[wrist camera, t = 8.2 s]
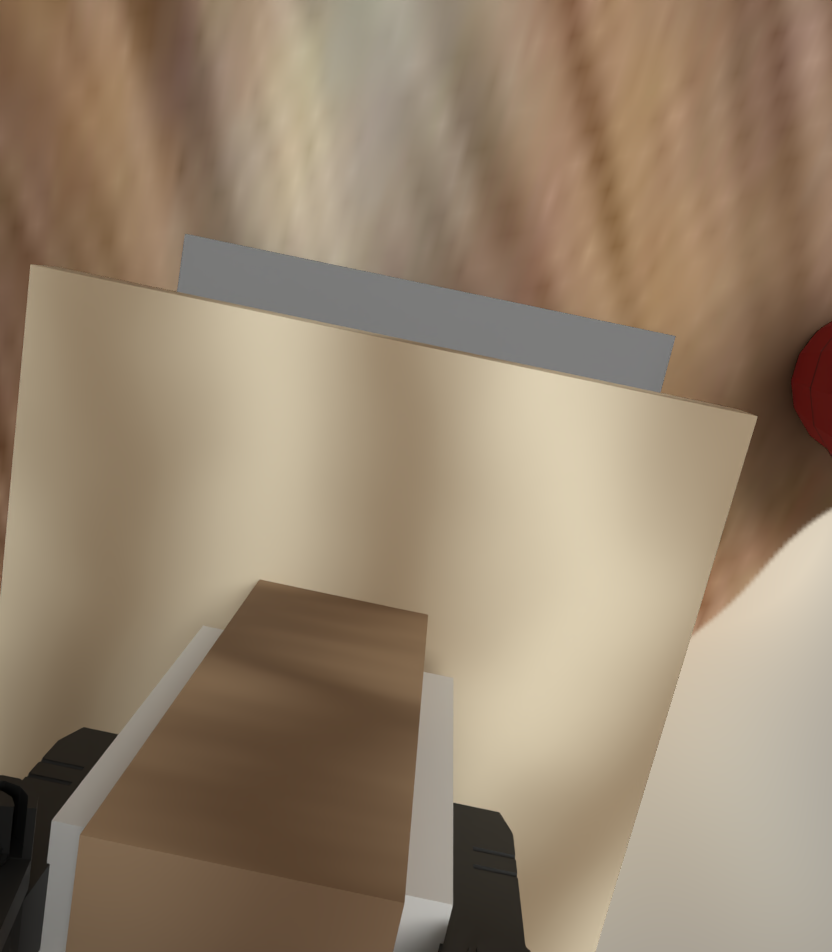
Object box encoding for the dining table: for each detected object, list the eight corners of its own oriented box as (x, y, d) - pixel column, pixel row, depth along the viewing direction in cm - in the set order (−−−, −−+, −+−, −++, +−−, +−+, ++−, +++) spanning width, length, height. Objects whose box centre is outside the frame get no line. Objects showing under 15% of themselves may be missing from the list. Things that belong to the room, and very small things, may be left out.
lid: (-1, 856, 22) (-387, 1328, 12) (57, 266, 18) (-424, 222, 8) (569, 976, 22) (668, 1551, 12) (738, 409, 18) (1084, 537, 8)
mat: (130, 677, 36) (123, 685, 36) (191, 235, 32) (185, 233, 31) (554, 766, 36) (556, 776, 36) (669, 335, 32) (675, 336, 31)
